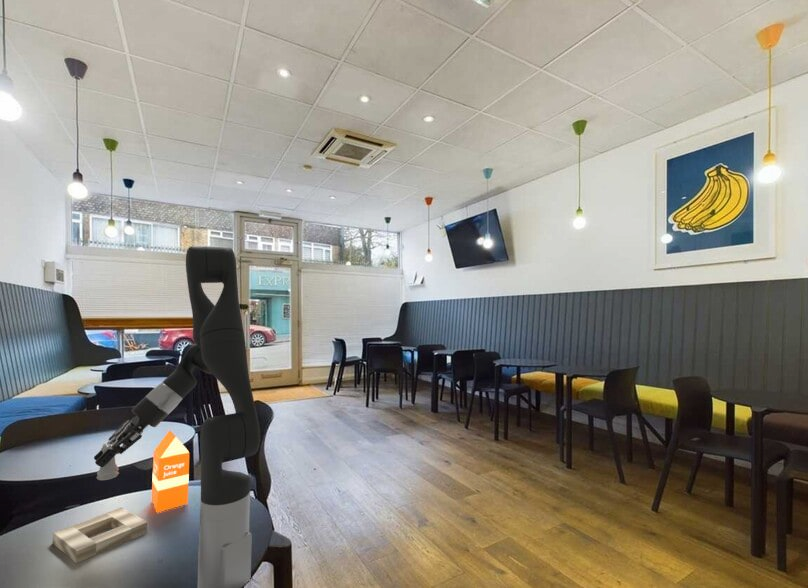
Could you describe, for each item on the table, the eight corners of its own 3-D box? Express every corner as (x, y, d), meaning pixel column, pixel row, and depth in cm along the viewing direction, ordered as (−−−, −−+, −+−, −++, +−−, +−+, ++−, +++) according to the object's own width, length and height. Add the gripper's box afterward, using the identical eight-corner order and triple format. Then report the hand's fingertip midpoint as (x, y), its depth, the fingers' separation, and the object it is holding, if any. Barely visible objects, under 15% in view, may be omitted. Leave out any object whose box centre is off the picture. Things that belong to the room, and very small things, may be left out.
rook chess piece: (106, 481, 91) (107, 447, 92) (91, 480, 92) (92, 446, 93) (123, 474, 95) (125, 441, 96) (109, 472, 96) (110, 440, 97)
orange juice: (156, 513, 104) (159, 439, 105) (150, 502, 110) (153, 431, 112) (188, 504, 109) (191, 433, 110) (181, 493, 116) (184, 426, 117)
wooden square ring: (146, 532, 95) (147, 522, 95) (76, 563, 83) (76, 551, 83) (120, 517, 102) (121, 507, 102) (52, 543, 90) (53, 532, 90)
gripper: (142, 391, 105) (82, 446, 96) (151, 400, 95) (85, 462, 86) (163, 408, 108) (107, 462, 99) (175, 417, 98) (114, 480, 89)
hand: (97, 462), depth 93 cm, fingers closed on rook chess piece, 3 cm apart
